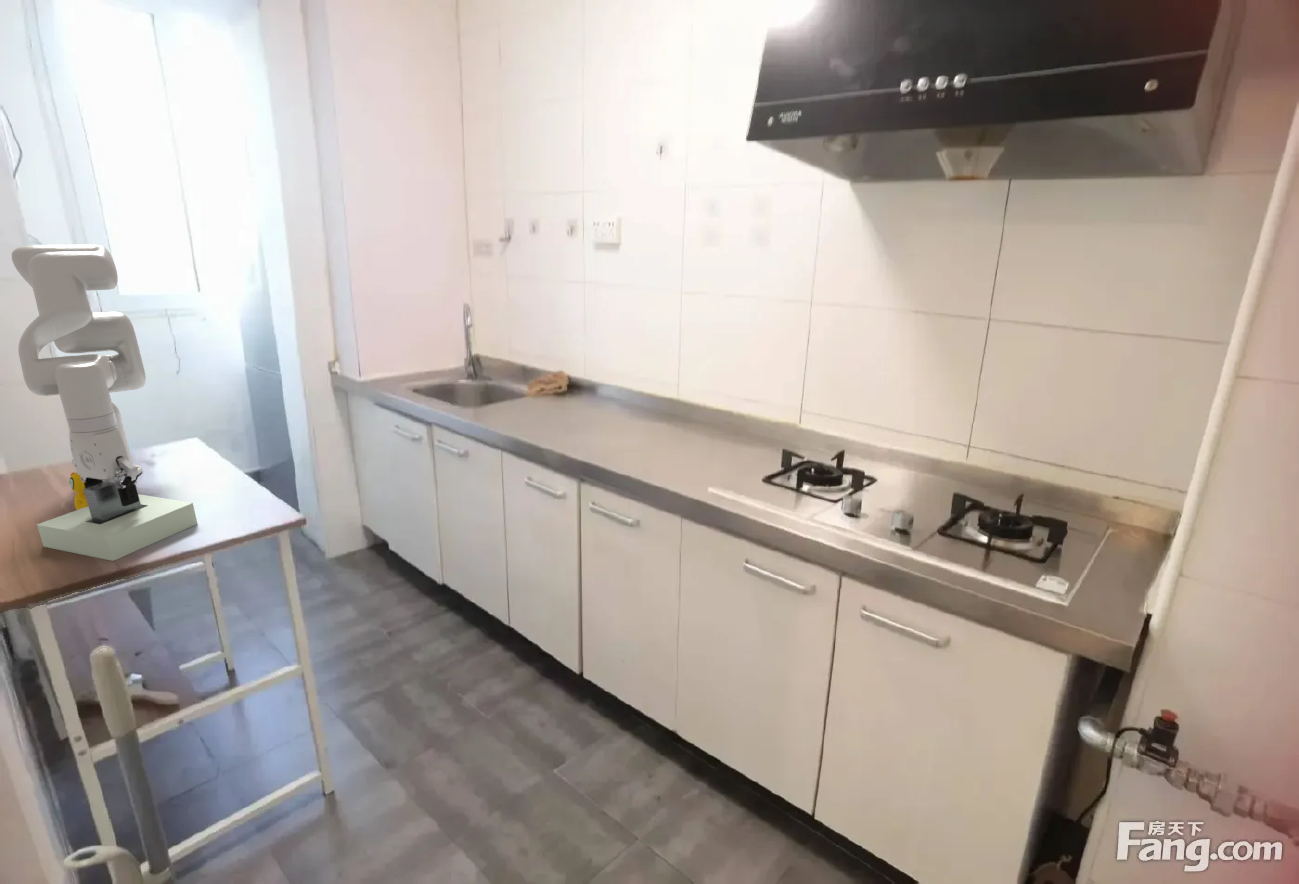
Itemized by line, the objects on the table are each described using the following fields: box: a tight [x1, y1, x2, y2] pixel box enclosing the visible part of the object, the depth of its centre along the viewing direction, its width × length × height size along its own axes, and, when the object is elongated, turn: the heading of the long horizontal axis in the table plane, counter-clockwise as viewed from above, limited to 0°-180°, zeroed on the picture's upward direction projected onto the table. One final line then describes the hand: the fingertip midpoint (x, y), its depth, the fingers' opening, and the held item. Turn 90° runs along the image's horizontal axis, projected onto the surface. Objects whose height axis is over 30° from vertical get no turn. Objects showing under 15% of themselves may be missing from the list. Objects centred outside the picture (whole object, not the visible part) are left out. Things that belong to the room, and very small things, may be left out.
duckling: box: [69, 471, 88, 511], centre depth 150 cm, size 11×5×10 cm, turn 59°
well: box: [36, 493, 198, 562], centre depth 140 cm, size 20×18×5 cm
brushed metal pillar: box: [84, 476, 142, 524], centre depth 139 cm, size 3×8×12 cm, turn 163°
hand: (114, 500), depth 139 cm, fingers open, 9 cm apart
